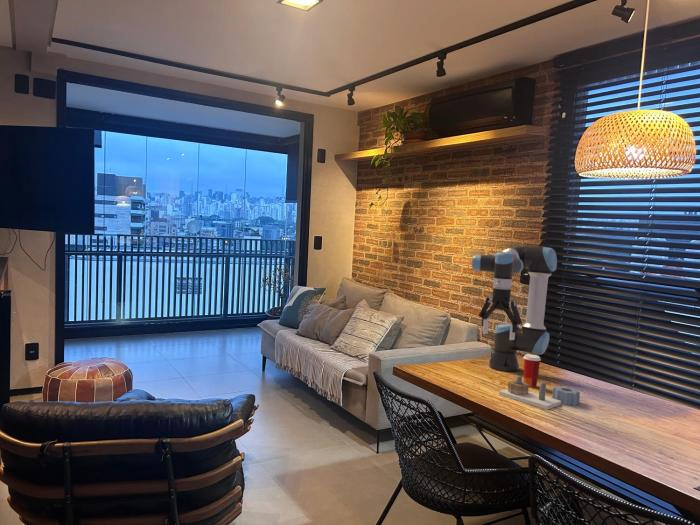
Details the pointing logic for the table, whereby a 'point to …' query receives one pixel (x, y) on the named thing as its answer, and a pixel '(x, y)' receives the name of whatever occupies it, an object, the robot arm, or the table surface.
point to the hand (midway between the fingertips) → (498, 336)
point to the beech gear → (518, 388)
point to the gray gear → (566, 395)
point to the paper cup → (531, 369)
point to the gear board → (533, 396)
